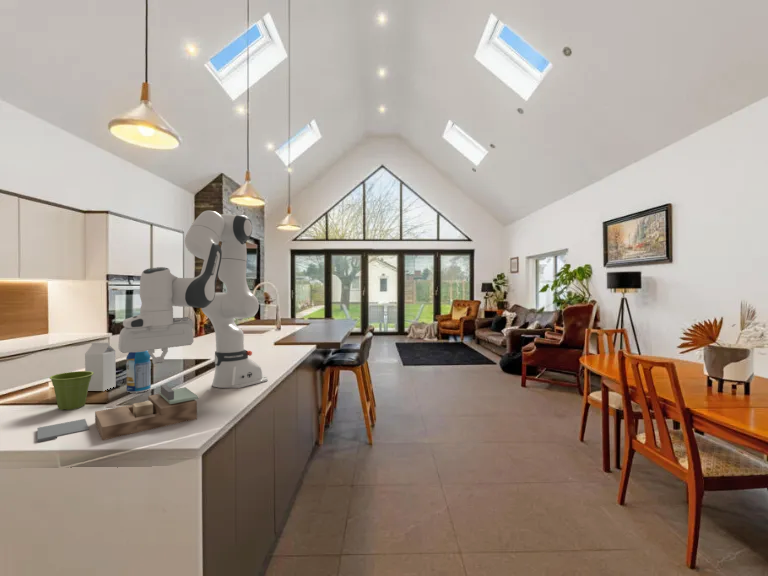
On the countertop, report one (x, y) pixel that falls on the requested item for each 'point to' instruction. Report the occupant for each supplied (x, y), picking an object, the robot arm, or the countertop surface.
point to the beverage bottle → (138, 371)
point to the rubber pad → (61, 429)
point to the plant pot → (71, 389)
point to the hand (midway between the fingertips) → (158, 362)
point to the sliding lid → (177, 394)
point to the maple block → (142, 409)
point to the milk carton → (101, 366)
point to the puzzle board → (143, 417)
